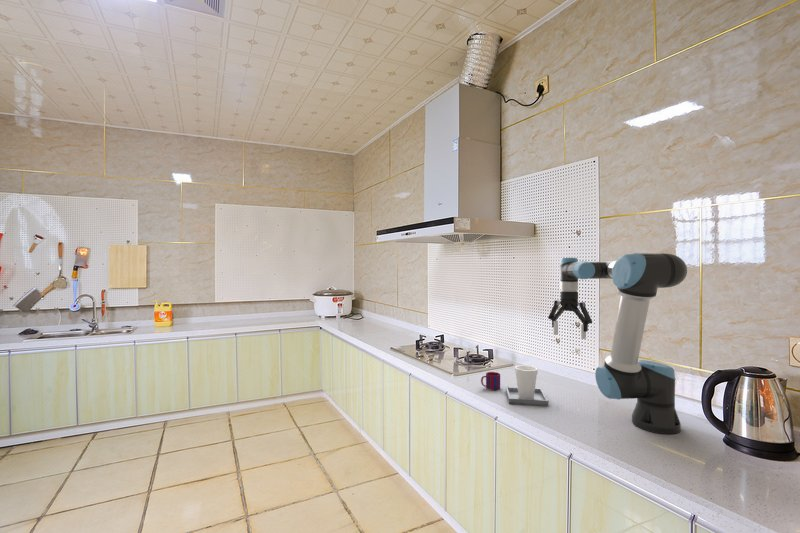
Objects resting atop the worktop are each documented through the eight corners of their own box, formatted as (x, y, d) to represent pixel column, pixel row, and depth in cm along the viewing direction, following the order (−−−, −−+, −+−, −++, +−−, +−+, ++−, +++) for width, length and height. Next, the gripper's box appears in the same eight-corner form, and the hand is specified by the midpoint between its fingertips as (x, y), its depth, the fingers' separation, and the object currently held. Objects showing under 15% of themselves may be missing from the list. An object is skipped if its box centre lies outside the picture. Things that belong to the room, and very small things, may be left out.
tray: (548, 406, 164) (548, 400, 164) (509, 403, 167) (509, 398, 167) (541, 393, 180) (541, 388, 179) (505, 391, 182) (505, 386, 182)
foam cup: (529, 402, 166) (529, 372, 166) (511, 396, 174) (510, 367, 173) (541, 397, 172) (541, 368, 172) (523, 392, 180) (523, 364, 179)
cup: (502, 389, 186) (502, 375, 186) (484, 391, 183) (484, 376, 183) (495, 385, 192) (495, 371, 192) (477, 387, 189) (477, 373, 189)
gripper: (600, 291, 173) (600, 339, 173) (549, 289, 193) (549, 332, 193) (591, 292, 168) (592, 341, 168) (540, 289, 188) (540, 333, 188)
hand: (569, 336), depth 181 cm, fingers open, 13 cm apart
